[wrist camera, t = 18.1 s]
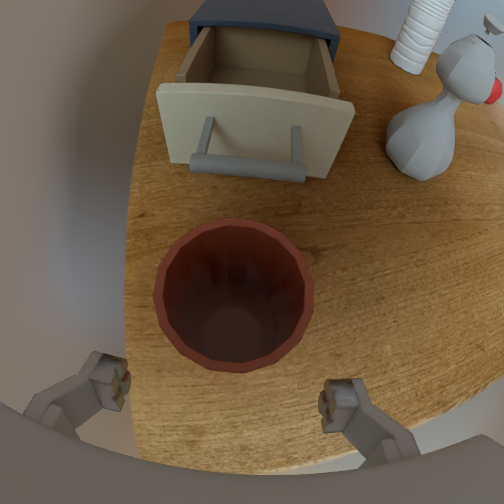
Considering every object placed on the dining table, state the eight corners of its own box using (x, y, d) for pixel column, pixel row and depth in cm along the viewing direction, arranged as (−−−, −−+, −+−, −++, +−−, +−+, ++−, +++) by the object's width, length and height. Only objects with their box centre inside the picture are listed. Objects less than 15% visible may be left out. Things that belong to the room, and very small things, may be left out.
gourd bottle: (390, 127, 29) (458, -8, 11) (440, 167, 28) (528, 45, 9) (364, 156, 27) (448, -14, 8) (423, 204, 25) (541, 58, 7)
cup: (181, 363, 18) (143, 360, 10) (192, 275, 21) (169, 212, 12) (275, 373, 18) (310, 376, 10) (280, 284, 21) (313, 226, 13)
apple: (462, 79, 42) (476, 55, 34) (486, 95, 41) (500, 73, 34) (472, 97, 39) (488, 71, 31) (496, 114, 38) (513, 91, 31)
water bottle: (383, 53, 39) (421, -52, 16) (408, 59, 40) (449, -36, 17) (406, 78, 36) (457, -37, 13) (432, 85, 36) (484, -18, 13)
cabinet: (319, 104, 29) (340, 35, 21) (193, 91, 29) (188, 19, 20) (309, 46, 36) (321, -3, 27) (217, 37, 35) (218, -14, 27)
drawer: (329, 228, 22) (368, 165, 15) (157, 210, 21) (131, 141, 14) (314, 82, 30) (328, 30, 23) (204, 71, 29) (202, 16, 22)
